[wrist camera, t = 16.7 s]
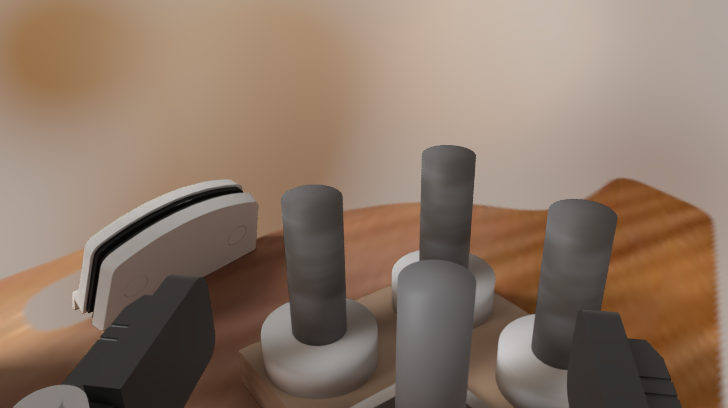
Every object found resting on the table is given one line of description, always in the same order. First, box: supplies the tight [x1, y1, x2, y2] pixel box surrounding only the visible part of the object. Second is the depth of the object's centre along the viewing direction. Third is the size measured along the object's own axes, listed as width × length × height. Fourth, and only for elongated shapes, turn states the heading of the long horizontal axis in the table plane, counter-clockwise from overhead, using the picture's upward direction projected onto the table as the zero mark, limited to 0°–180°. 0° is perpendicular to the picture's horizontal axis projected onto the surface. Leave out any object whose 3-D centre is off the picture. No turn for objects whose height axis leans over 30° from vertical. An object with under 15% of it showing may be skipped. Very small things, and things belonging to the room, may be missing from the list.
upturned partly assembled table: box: [239, 145, 617, 408], centre depth 39 cm, size 19×19×15 cm
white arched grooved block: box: [72, 180, 258, 331], centre depth 55 cm, size 17×5×10 cm, turn 141°
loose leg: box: [395, 260, 477, 408], centre depth 32 cm, size 4×4×12 cm
